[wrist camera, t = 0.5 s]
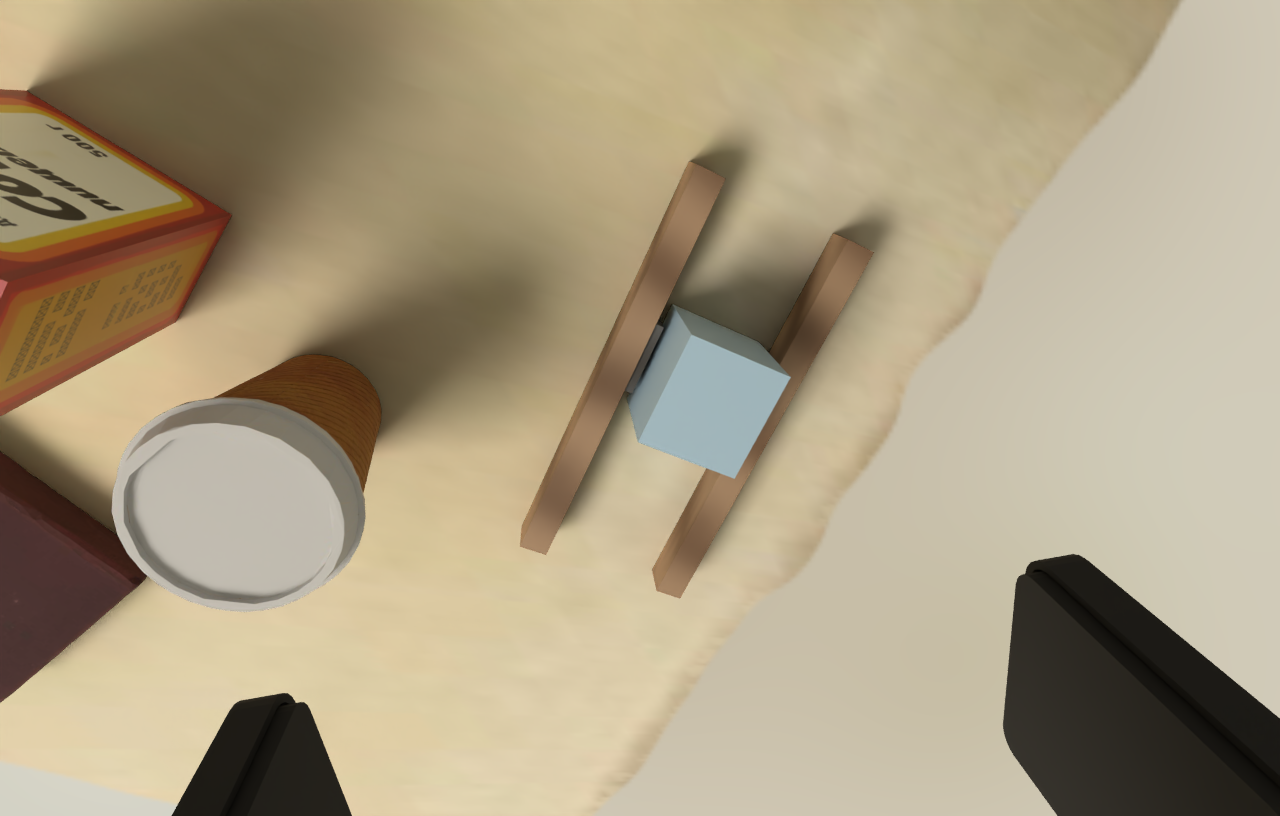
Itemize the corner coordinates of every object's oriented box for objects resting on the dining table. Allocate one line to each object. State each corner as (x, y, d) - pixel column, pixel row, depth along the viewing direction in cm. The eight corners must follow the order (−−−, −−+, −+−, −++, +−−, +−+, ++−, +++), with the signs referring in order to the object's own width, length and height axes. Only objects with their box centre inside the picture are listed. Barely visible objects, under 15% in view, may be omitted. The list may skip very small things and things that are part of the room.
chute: (689, 161, 37) (696, 164, 35) (857, 245, 39) (873, 252, 37) (521, 526, 43) (520, 546, 41) (674, 577, 46) (680, 598, 44)
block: (672, 303, 39) (691, 334, 34) (758, 341, 41) (790, 377, 35) (626, 398, 41) (637, 442, 35) (711, 431, 42) (734, 478, 37)
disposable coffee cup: (384, 310, 38) (314, 390, 27) (430, 470, 41) (385, 598, 30) (201, 341, 37) (51, 435, 26) (264, 499, 41) (156, 640, 30)
